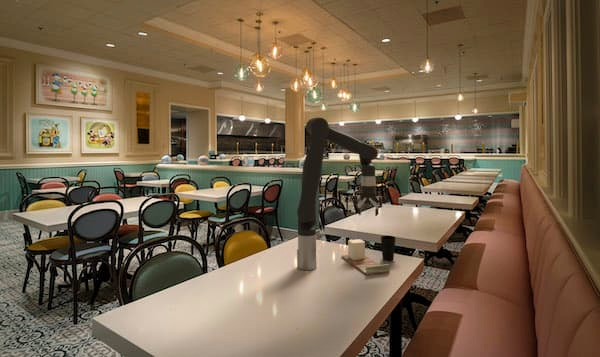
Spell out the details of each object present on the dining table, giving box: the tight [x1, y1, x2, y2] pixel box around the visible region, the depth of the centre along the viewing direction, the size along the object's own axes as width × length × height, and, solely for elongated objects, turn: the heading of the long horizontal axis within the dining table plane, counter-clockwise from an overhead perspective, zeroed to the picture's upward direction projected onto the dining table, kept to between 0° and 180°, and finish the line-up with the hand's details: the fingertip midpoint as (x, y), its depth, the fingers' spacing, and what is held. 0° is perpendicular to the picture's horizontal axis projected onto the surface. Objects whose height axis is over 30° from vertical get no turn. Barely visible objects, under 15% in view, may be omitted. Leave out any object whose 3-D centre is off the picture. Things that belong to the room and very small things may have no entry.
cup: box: [380, 235, 397, 262], centre depth 186 cm, size 8×8×12 cm
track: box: [341, 254, 390, 277], centre depth 179 cm, size 29×12×4 cm, turn 17°
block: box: [347, 239, 366, 260], centre depth 186 cm, size 6×7×9 cm
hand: (368, 215), depth 183 cm, fingers open, 8 cm apart
